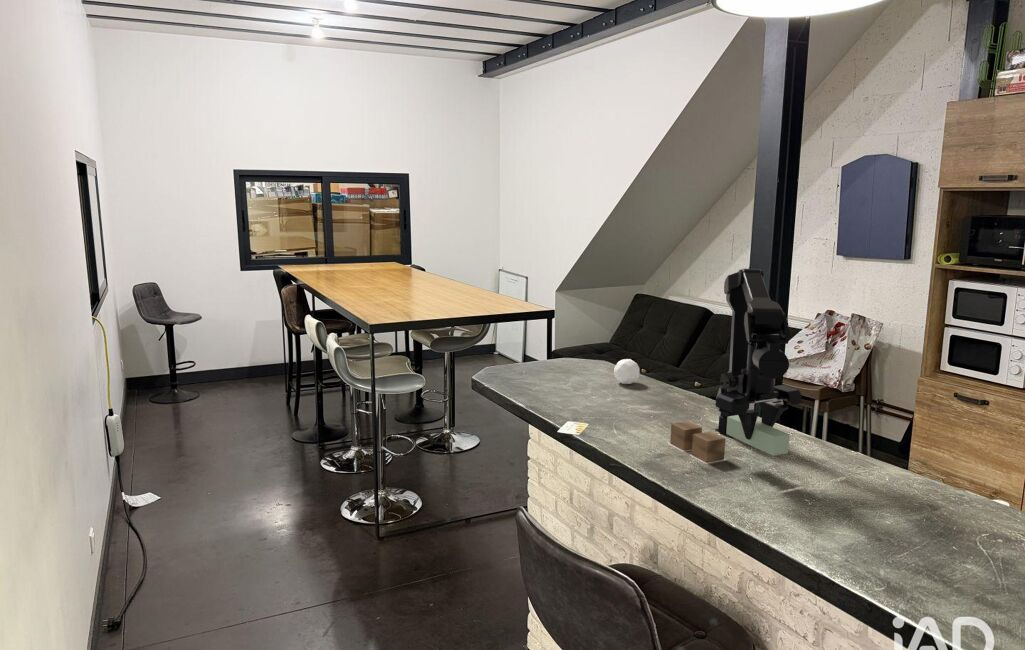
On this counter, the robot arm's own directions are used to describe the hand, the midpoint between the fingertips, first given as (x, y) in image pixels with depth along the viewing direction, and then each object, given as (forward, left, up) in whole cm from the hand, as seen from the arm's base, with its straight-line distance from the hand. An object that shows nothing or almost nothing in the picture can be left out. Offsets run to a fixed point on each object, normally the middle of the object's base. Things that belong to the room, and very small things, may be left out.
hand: (756, 437), depth 147 cm
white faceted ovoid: (-15, -73, -8) cm, 75 cm away
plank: (0, 0, -1) cm, 1 cm away
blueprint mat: (+4, -14, -8) cm, 17 cm away
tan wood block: (+4, -10, -8) cm, 13 cm away
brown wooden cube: (+4, -18, -8) cm, 20 cm away
